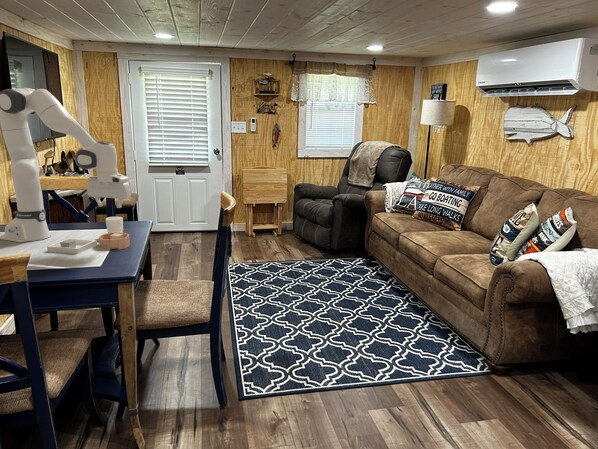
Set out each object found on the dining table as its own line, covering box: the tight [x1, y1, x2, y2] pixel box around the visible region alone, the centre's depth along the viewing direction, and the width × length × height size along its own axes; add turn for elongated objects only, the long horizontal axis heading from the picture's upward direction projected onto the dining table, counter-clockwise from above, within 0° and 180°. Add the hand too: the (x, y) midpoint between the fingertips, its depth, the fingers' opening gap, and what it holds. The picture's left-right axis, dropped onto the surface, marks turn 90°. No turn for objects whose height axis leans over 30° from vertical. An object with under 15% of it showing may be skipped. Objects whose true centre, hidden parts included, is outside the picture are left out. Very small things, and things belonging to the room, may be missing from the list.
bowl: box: [98, 232, 131, 251], centre depth 212 cm, size 13×13×5 cm
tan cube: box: [110, 233, 124, 239], centre depth 214 cm, size 4×4×4 cm
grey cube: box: [59, 239, 76, 248], centre depth 202 cm, size 4×4×4 cm
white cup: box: [105, 216, 124, 233], centre depth 225 cm, size 8×8×10 cm
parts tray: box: [46, 237, 98, 255], centre depth 205 cm, size 15×14×3 cm
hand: (109, 207), depth 209 cm, fingers open, 8 cm apart
